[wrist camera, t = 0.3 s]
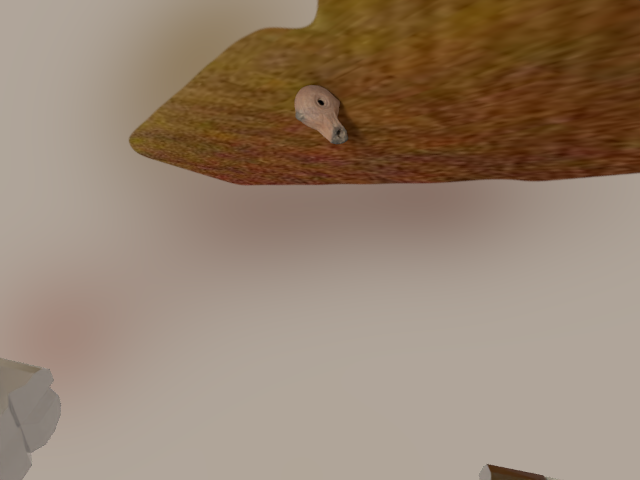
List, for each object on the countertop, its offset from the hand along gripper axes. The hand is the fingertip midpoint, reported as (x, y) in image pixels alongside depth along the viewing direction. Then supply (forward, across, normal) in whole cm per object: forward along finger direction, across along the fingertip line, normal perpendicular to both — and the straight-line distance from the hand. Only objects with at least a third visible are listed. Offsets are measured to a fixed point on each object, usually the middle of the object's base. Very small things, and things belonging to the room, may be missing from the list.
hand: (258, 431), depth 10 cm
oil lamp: (+71, +9, +22) cm, 75 cm away
